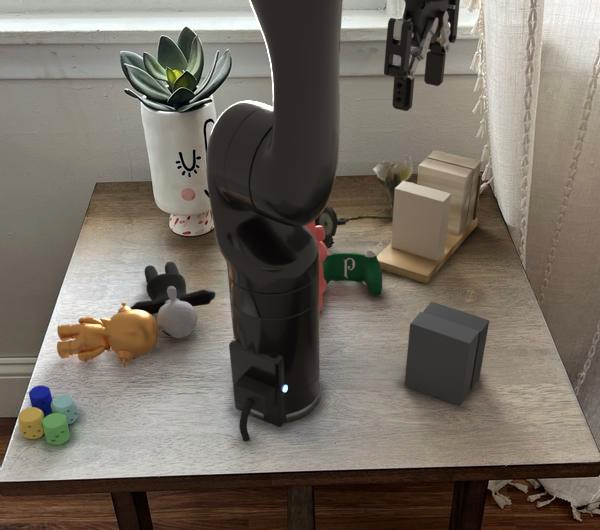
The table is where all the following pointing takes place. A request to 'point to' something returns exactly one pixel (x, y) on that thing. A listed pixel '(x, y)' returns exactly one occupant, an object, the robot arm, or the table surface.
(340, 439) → the table surface
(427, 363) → the grey books
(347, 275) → the gaming controller
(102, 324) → the figurine
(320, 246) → the figurine
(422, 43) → the robot arm
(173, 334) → the figurine
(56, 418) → the multicoloured cylinder cluster
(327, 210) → the artificial flower
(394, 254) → the book shelf
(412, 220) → the cream book
